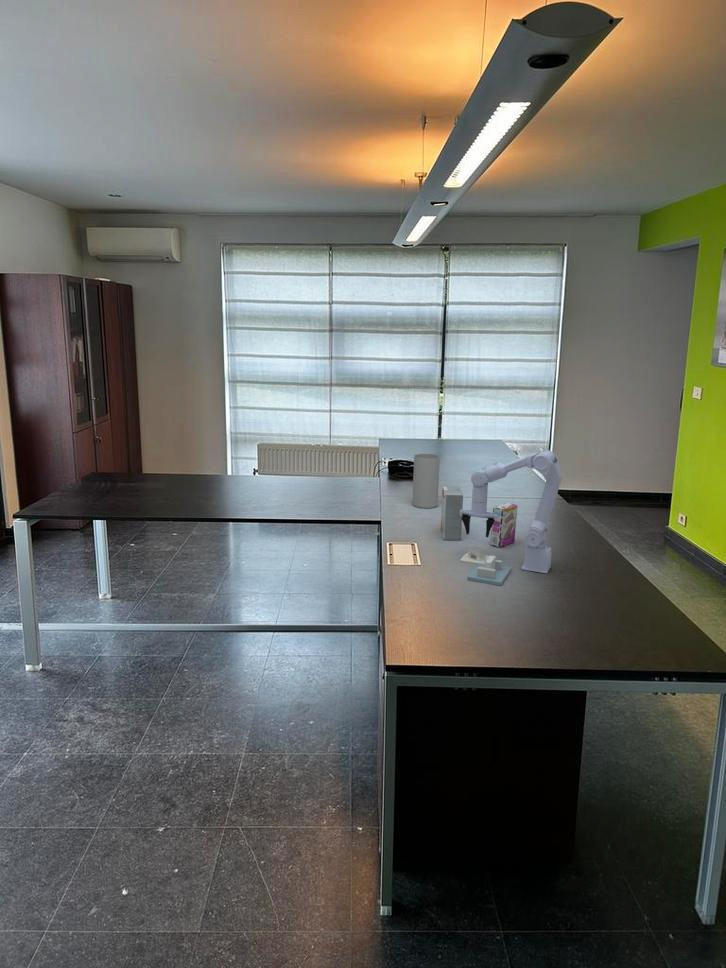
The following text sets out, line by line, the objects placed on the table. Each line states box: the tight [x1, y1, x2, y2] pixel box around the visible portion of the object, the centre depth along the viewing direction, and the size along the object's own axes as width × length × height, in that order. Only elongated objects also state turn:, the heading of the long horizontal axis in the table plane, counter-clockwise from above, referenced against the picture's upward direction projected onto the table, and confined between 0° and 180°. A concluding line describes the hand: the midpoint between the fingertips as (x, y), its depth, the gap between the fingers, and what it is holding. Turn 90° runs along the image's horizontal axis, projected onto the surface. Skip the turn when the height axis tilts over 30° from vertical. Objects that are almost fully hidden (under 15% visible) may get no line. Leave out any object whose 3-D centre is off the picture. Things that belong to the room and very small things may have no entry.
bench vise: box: [466, 555, 512, 587], centre depth 243 cm, size 12×16×6 cm
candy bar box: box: [489, 502, 518, 549], centre depth 277 cm, size 11×5×16 cm, turn 134°
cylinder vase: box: [412, 453, 441, 509], centre depth 334 cm, size 12×12×25 cm
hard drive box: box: [440, 485, 464, 541], centre depth 288 cm, size 16×8×20 cm, turn 178°
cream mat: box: [459, 551, 491, 565], centre depth 260 cm, size 10×10×1 cm
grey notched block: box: [467, 545, 487, 561], centre depth 260 cm, size 6×4×4 cm
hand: (477, 535), depth 260 cm, fingers open, 7 cm apart
